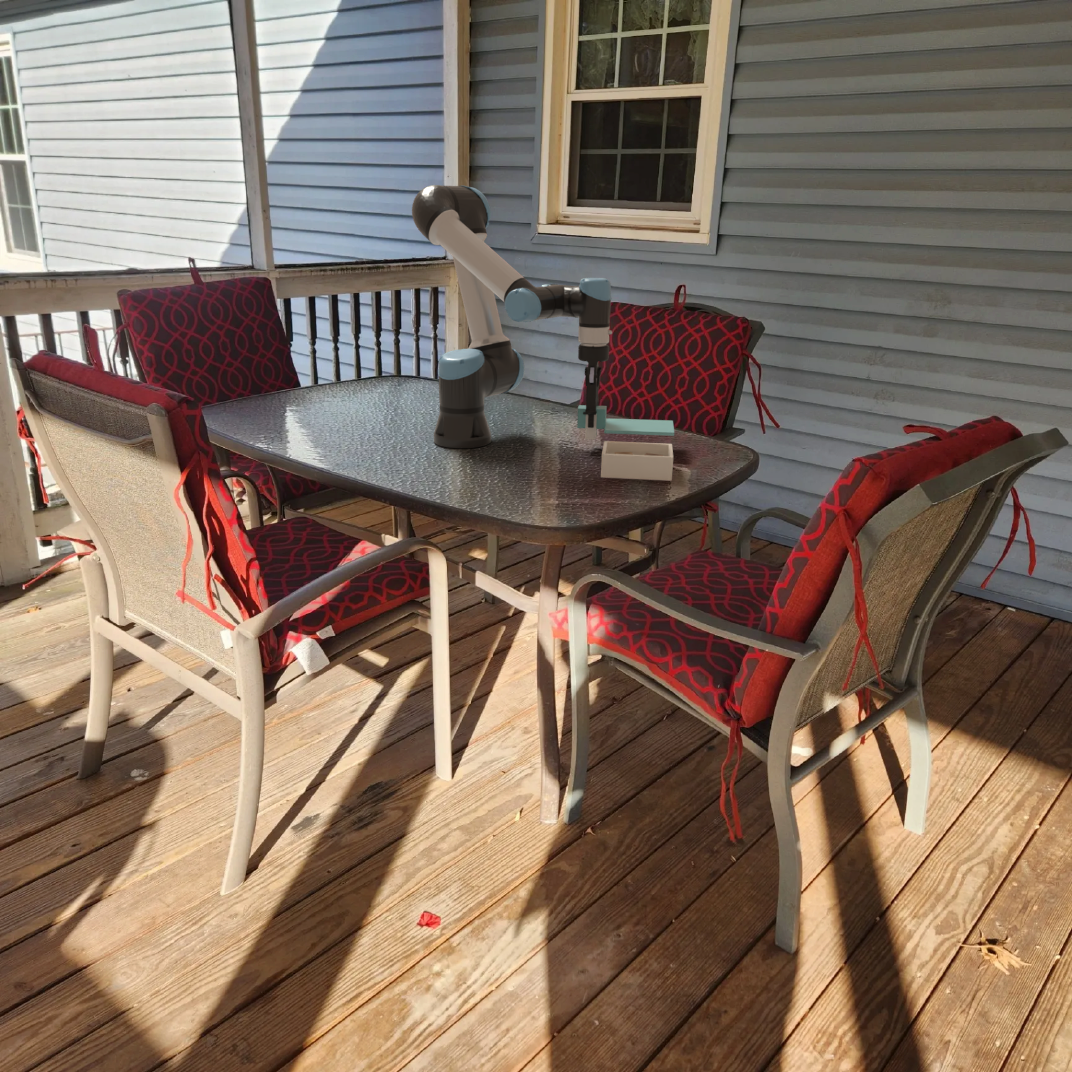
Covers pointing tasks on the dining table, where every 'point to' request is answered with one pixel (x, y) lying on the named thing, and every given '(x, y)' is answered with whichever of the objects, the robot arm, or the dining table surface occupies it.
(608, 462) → the tub
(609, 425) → the lid
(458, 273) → the robot arm
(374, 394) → the dining table surface
